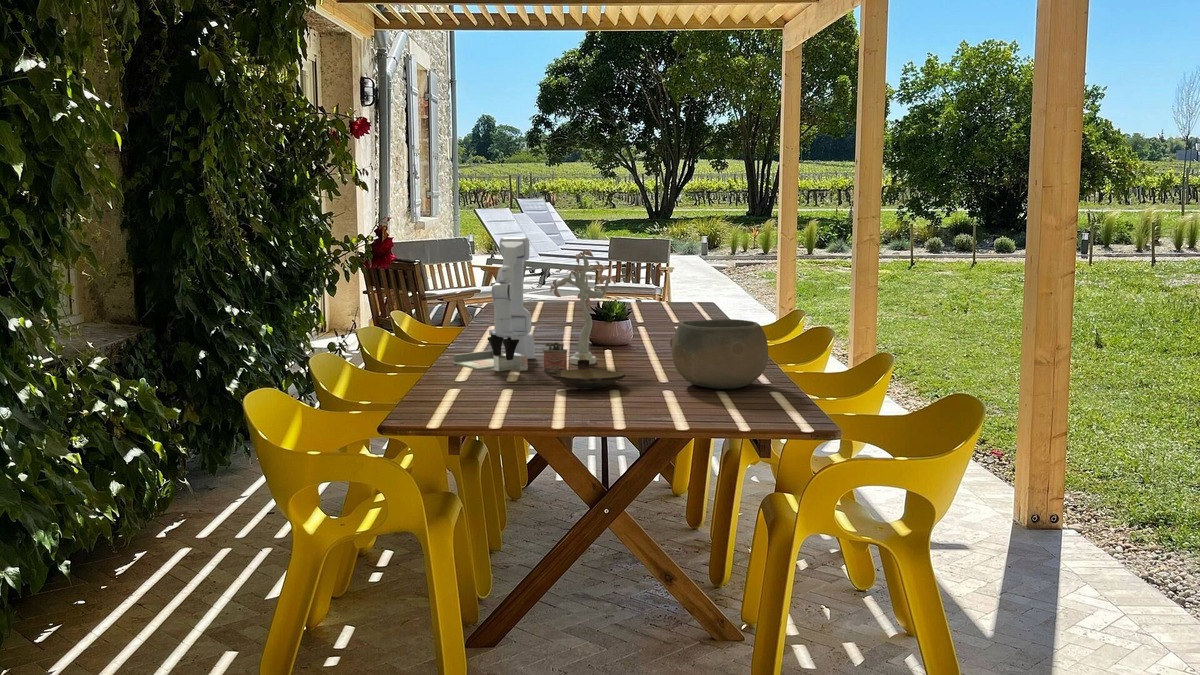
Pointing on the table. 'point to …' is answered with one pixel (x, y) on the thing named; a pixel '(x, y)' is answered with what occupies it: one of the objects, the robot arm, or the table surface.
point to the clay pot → (720, 352)
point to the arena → (476, 359)
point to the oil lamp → (587, 376)
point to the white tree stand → (584, 301)
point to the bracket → (510, 362)
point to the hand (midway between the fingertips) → (503, 358)
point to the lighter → (555, 357)
